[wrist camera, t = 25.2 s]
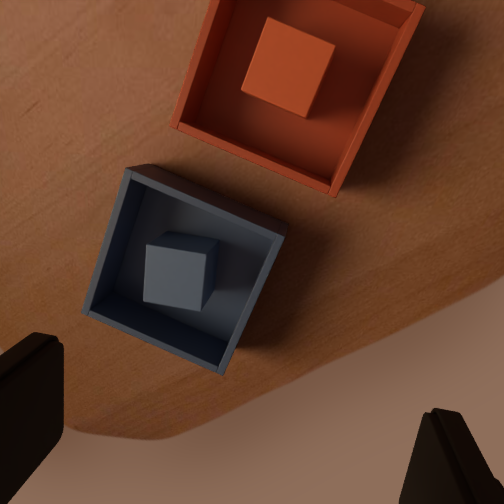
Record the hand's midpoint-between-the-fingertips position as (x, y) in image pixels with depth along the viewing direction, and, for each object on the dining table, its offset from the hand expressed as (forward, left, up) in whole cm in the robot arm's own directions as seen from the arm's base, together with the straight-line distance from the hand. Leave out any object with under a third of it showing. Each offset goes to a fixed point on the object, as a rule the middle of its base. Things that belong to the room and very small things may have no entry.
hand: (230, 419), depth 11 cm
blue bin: (+6, +6, -24) cm, 26 cm away
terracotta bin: (+4, -10, -24) cm, 27 cm away
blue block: (+6, +6, -24) cm, 25 cm away
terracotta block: (+4, -10, -24) cm, 26 cm away
